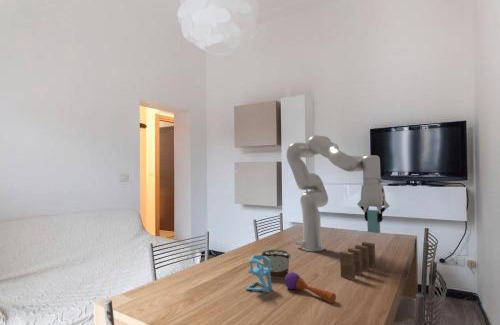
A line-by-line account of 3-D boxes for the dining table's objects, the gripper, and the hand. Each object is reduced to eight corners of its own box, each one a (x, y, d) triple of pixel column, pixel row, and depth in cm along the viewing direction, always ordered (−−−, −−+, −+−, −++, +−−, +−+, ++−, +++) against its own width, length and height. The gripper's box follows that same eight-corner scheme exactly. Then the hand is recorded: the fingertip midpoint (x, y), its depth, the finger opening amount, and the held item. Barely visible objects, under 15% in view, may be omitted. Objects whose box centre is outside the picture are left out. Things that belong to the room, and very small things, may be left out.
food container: (294, 274, 123) (293, 250, 123) (291, 279, 117) (290, 254, 118) (265, 271, 127) (265, 248, 128) (261, 276, 121) (261, 252, 122)
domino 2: (360, 275, 120) (359, 250, 120) (348, 272, 123) (347, 248, 123) (362, 274, 121) (361, 249, 121) (350, 271, 125) (350, 247, 125)
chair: (265, 295, 103) (264, 260, 103) (245, 290, 107) (245, 257, 108) (275, 287, 110) (274, 255, 110) (256, 283, 114) (255, 252, 114)
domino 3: (367, 271, 124) (366, 247, 124) (355, 268, 128) (355, 245, 128) (369, 270, 125) (368, 246, 126) (357, 267, 129) (357, 244, 129)
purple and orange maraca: (327, 294, 93) (280, 274, 108) (328, 311, 94) (282, 289, 109) (337, 285, 97) (290, 267, 112) (338, 302, 98) (292, 281, 113)
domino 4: (373, 267, 129) (372, 244, 129) (362, 265, 132) (361, 242, 133) (375, 266, 130) (374, 243, 130) (364, 264, 134) (363, 242, 134)
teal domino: (378, 233, 133) (377, 211, 134) (367, 231, 137) (366, 210, 137) (380, 232, 135) (379, 210, 135) (369, 231, 138) (368, 209, 139)
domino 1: (352, 279, 115) (351, 254, 115) (340, 276, 119) (340, 251, 119) (355, 278, 116) (354, 253, 117) (343, 275, 120) (342, 250, 120)
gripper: (394, 181, 133) (395, 221, 133) (358, 181, 146) (359, 218, 145) (387, 182, 128) (389, 224, 127) (350, 182, 140) (352, 220, 140)
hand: (373, 220), depth 136 cm, fingers closed on teal domino, 4 cm apart
